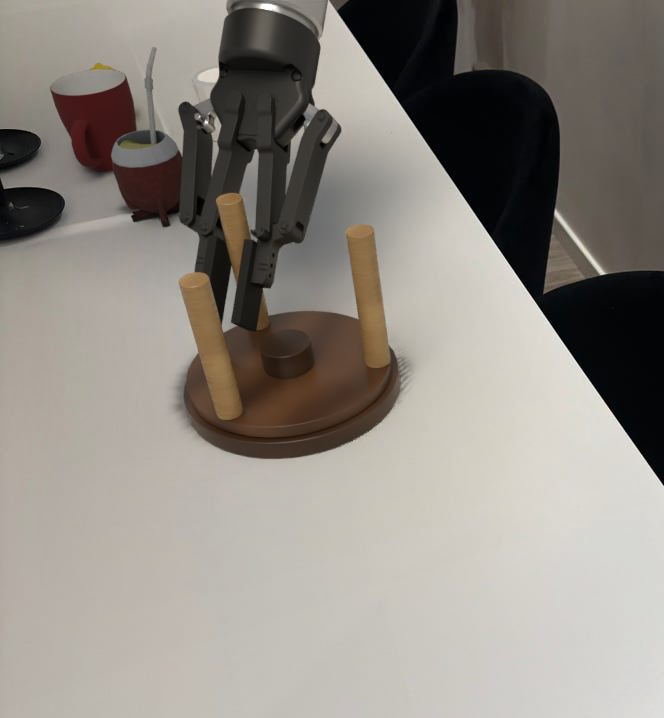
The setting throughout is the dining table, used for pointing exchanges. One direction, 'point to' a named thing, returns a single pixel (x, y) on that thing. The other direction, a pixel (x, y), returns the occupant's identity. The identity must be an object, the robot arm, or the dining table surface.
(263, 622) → the dining table surface
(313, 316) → the rack turntable
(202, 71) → the shot glass
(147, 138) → the mate gourd
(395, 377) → the rack base
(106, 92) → the mug
